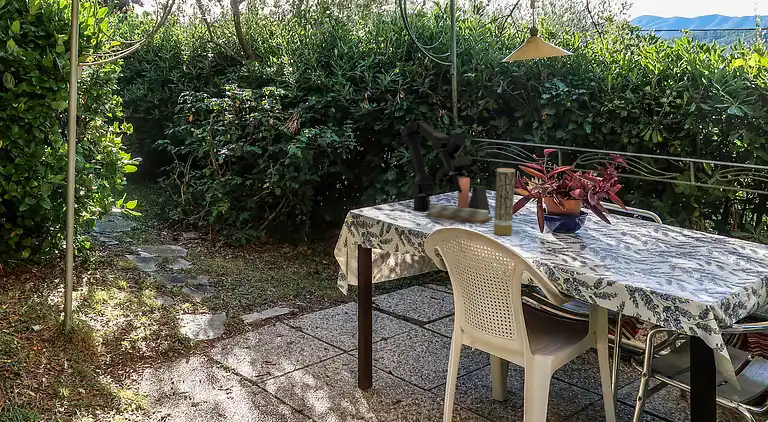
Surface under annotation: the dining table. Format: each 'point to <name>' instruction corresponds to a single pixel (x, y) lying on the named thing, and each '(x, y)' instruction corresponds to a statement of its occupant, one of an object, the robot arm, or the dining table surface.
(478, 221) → the ridge board
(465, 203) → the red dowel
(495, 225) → the bark log
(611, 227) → the dining table surface
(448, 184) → the robot arm
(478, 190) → the door stopper
